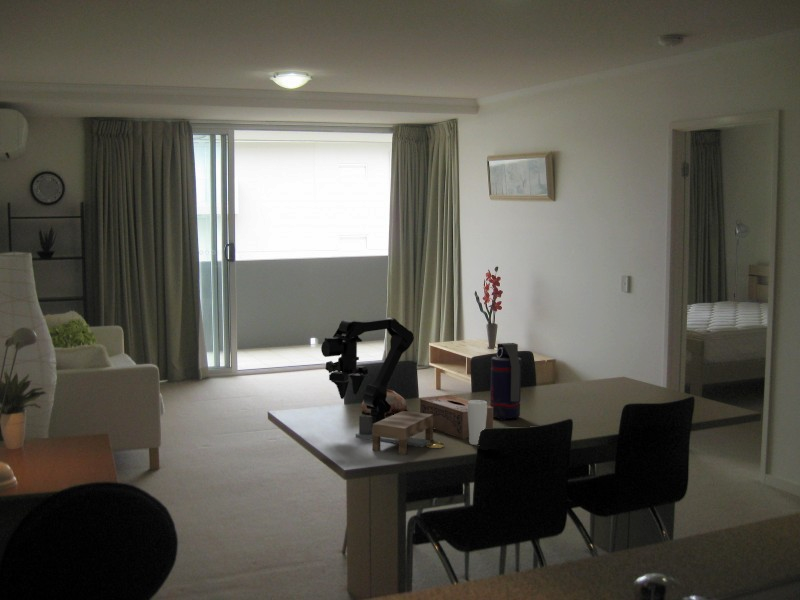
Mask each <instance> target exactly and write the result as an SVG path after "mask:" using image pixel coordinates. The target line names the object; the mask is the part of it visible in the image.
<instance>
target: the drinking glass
mask: <svg viewBox="0 0 800 600" xmlns="http://www.w3.org/2000/svg"><path fill="white" fill-rule="evenodd" d="M469 400H470V399H469ZM487 406H488V402H487V401H486V400H483V399H471V400H470V401H468V427H469V437H468V443H469V445H471V446H478V445H477V444H478V440H479V436H480V432H481V431H482V430H484V429H485V427H486V418H487Z"/></svg>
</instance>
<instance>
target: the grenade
mask: <svg viewBox="0 0 800 600" xmlns="http://www.w3.org/2000/svg"><path fill="white" fill-rule="evenodd" d="M518 349H519V345H518V343H516V342H507V343H505V342H504V343H497V350H496V351H497V352H496V354H495V356H492V357H491V360H490V361H491V362H490V365H491V368H490V394H489V395H490V397H489V398H490V399H489V400H490V401H489V404H490V405H489V406H491V407H493V418H498V421H505V419H513V418H514V419H515V420H519V418H520V416H521V391H522V390H521V388H522V387H521V386H522V357H520V356H519V354H518V353H519V350H518Z"/></svg>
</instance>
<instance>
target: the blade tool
mask: <svg viewBox="0 0 800 600" xmlns="http://www.w3.org/2000/svg"><path fill="white" fill-rule="evenodd" d="M358 418H359V420H358V421H359V422H358V424H359V427H358V433H355V438H357V437H359V439H363V438H365V440H370V439H372V441H373V427H372V416H370V414H369V415H367V414H361V415H358ZM384 441H386V443H391V442H395V443H394V444H398V443H399V439H392V438H385V437H381V439H380V442H384ZM428 442H431V440H425V439H423V438H417V437H410V438H408V439H407V444H408V445H407V446H411V445H414V446H413V447H418V446H421V447H420V448H424V447H425V446H427V443H428ZM423 446H424V447H423Z"/></svg>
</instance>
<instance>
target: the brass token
mask: <svg viewBox="0 0 800 600" xmlns="http://www.w3.org/2000/svg"><path fill="white" fill-rule="evenodd" d="M428 447H429V449H433V448H439V449H443V448H444V447H445V445H444V443H443V442H442V441H441V442H440V441H430V442H428V443H427V445H426V448H428ZM442 447H443V448H442Z"/></svg>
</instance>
